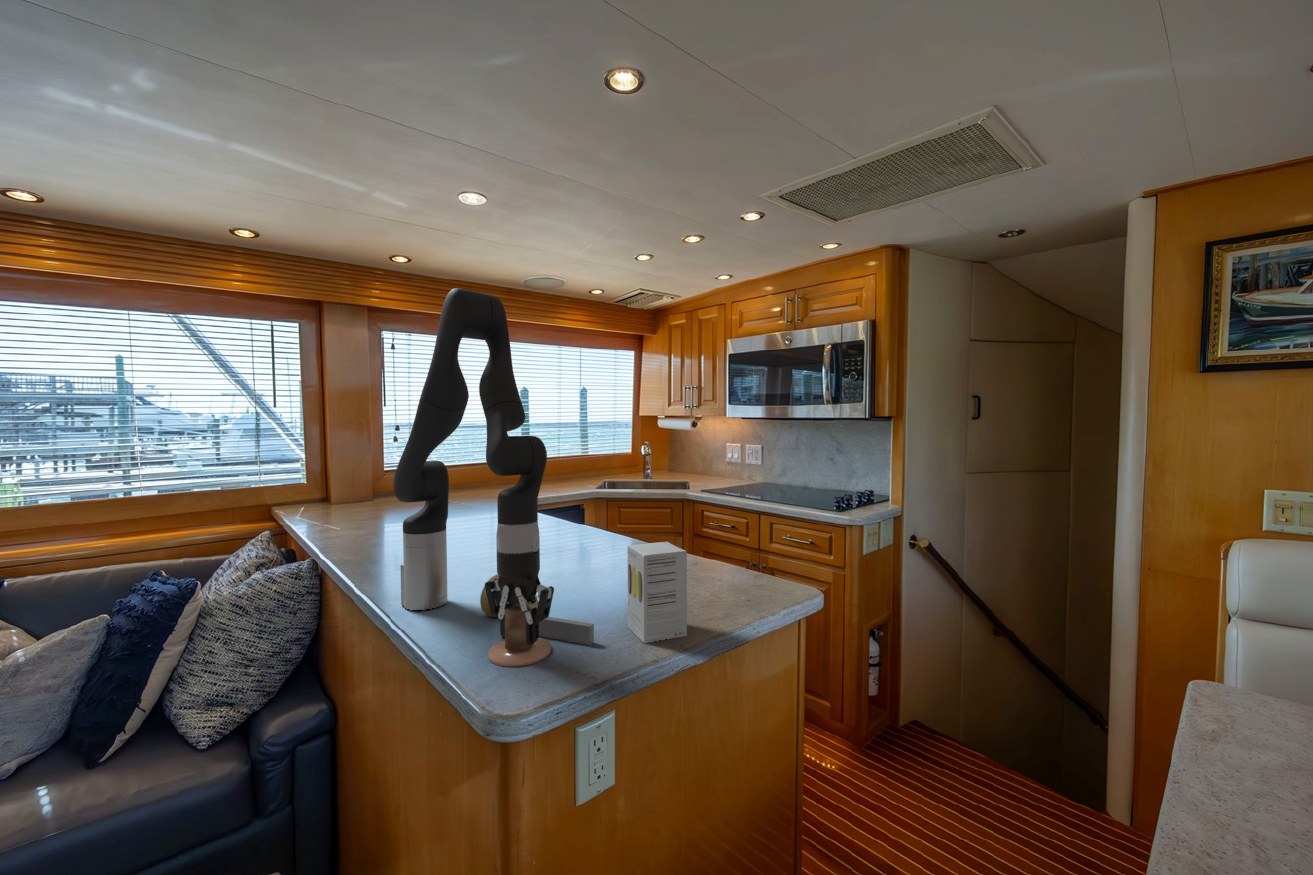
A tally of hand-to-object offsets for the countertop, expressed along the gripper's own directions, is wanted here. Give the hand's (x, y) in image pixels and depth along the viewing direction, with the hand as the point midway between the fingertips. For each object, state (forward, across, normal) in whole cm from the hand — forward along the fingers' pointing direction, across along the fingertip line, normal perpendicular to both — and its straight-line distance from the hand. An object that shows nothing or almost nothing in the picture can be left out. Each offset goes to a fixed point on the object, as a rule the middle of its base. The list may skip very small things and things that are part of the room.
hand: (519, 640), depth 96 cm
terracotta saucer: (+2, 0, 0) cm, 2 cm away
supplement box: (+3, +19, +18) cm, 27 cm away
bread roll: (+3, -18, +19) cm, 26 cm away
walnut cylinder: (+1, 0, 0) cm, 1 cm away
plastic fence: (+2, 0, +8) cm, 9 cm away
